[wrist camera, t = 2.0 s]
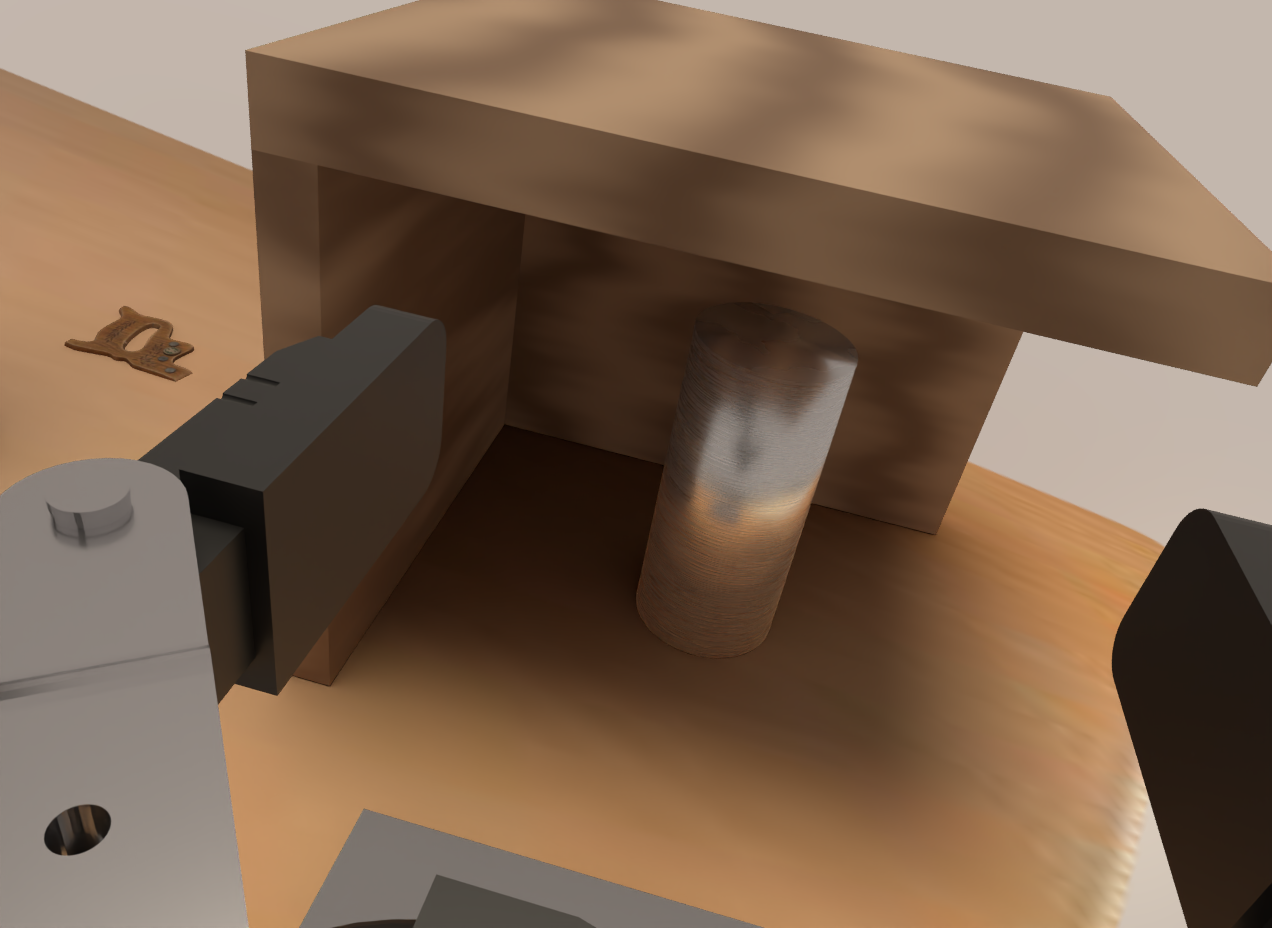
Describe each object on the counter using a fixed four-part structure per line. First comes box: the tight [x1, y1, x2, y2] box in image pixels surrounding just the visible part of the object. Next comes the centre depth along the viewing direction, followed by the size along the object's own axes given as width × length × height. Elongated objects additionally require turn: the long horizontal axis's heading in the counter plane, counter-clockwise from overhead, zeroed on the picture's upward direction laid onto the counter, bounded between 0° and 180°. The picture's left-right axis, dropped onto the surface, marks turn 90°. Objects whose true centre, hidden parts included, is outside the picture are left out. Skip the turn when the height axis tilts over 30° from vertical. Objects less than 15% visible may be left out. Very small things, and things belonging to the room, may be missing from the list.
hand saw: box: [65, 306, 194, 382], centre depth 42 cm, size 24×5×1 cm, turn 73°
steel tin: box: [636, 302, 858, 658], centre depth 32 cm, size 5×5×11 cm
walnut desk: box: [245, 0, 1272, 686], centre depth 31 cm, size 21×18×18 cm
